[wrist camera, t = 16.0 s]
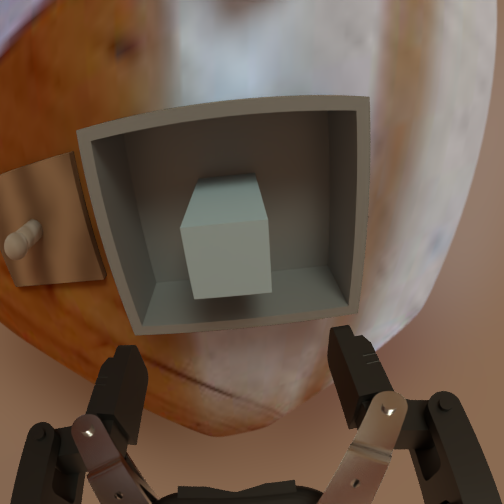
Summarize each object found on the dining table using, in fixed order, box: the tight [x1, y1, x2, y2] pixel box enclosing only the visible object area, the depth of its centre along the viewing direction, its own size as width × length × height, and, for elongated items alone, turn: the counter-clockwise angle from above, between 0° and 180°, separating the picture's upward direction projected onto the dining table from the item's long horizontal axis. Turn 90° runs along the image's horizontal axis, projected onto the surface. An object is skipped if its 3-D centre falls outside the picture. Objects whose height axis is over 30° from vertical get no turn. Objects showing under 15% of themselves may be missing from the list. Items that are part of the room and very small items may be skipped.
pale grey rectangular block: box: [180, 173, 272, 299], centre depth 24 cm, size 5×5×11 cm
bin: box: [76, 95, 370, 335], centre depth 26 cm, size 20×18×8 cm
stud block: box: [0, 151, 107, 287], centre depth 26 cm, size 14×14×6 cm
